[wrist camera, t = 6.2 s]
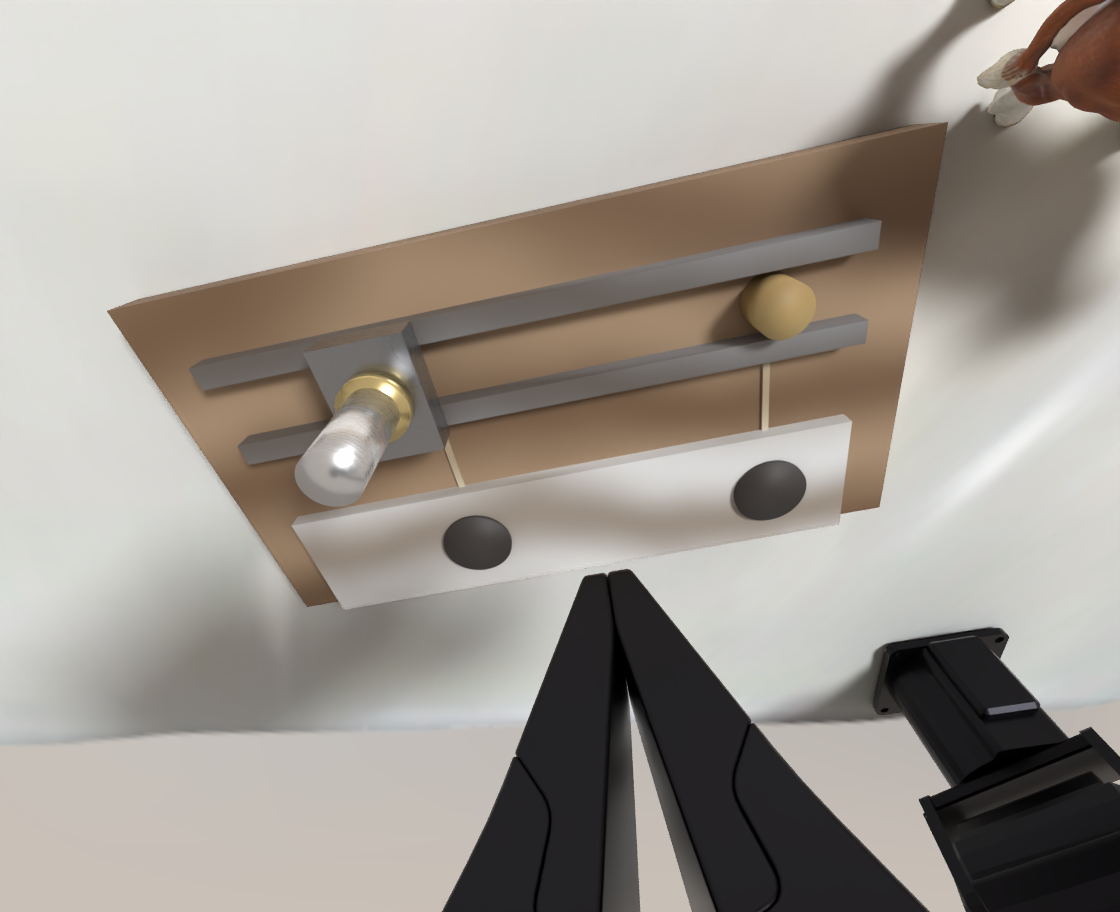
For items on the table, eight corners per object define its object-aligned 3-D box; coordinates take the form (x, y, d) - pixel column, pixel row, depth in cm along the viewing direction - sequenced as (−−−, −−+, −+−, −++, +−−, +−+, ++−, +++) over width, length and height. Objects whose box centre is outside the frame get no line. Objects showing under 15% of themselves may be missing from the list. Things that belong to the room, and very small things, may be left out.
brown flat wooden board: (859, 487, 23) (900, 529, 20) (319, 583, 24) (293, 633, 22) (913, 124, 15) (988, 118, 13) (138, 299, 17) (69, 324, 15)
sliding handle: (450, 431, 17) (418, 532, 13) (368, 447, 18) (308, 552, 13) (410, 320, 15) (355, 392, 11) (317, 339, 16) (225, 418, 11)
